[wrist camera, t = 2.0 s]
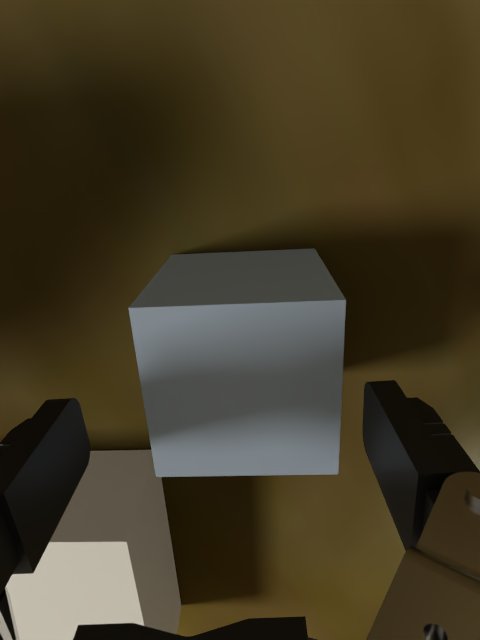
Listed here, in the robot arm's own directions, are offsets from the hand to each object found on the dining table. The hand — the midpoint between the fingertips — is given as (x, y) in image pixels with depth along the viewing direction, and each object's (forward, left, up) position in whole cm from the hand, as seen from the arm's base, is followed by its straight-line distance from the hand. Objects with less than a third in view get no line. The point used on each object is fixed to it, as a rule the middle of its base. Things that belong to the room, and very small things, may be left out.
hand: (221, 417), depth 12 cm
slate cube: (-1, -1, -6) cm, 6 cm away
